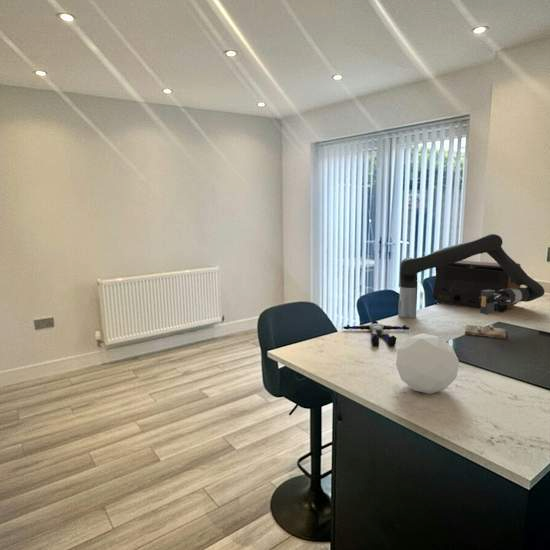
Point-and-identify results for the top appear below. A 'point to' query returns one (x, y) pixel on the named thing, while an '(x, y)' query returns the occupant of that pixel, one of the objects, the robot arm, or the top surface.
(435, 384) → the geometric sphere
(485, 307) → the dark grey tall block
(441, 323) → the top surface
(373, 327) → the toy
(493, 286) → the radio
